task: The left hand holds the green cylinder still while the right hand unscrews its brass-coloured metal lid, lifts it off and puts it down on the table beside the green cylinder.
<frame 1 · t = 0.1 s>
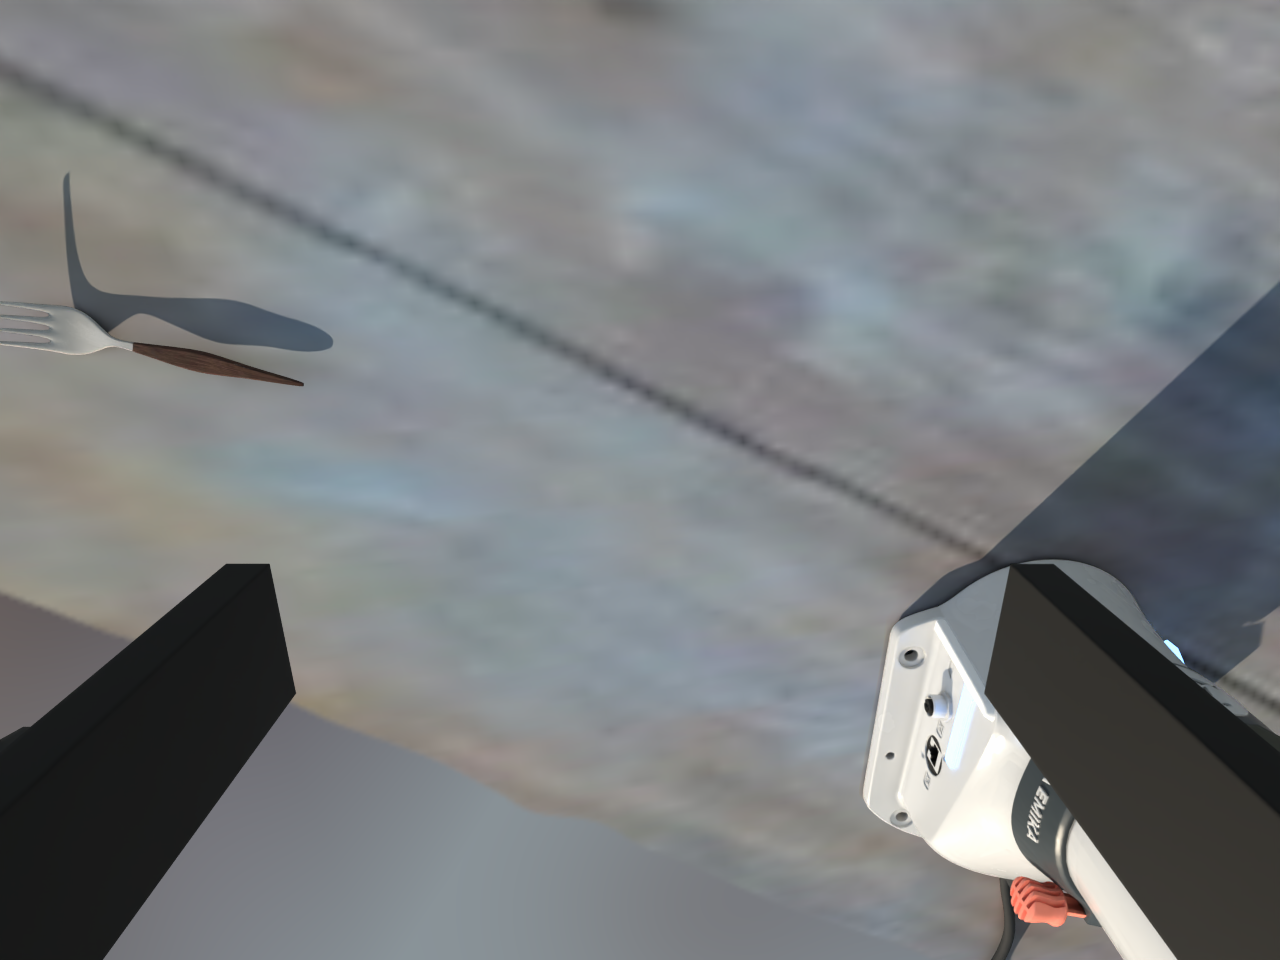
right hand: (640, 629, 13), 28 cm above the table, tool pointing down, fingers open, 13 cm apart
fork: (163, 349, 39), on the table
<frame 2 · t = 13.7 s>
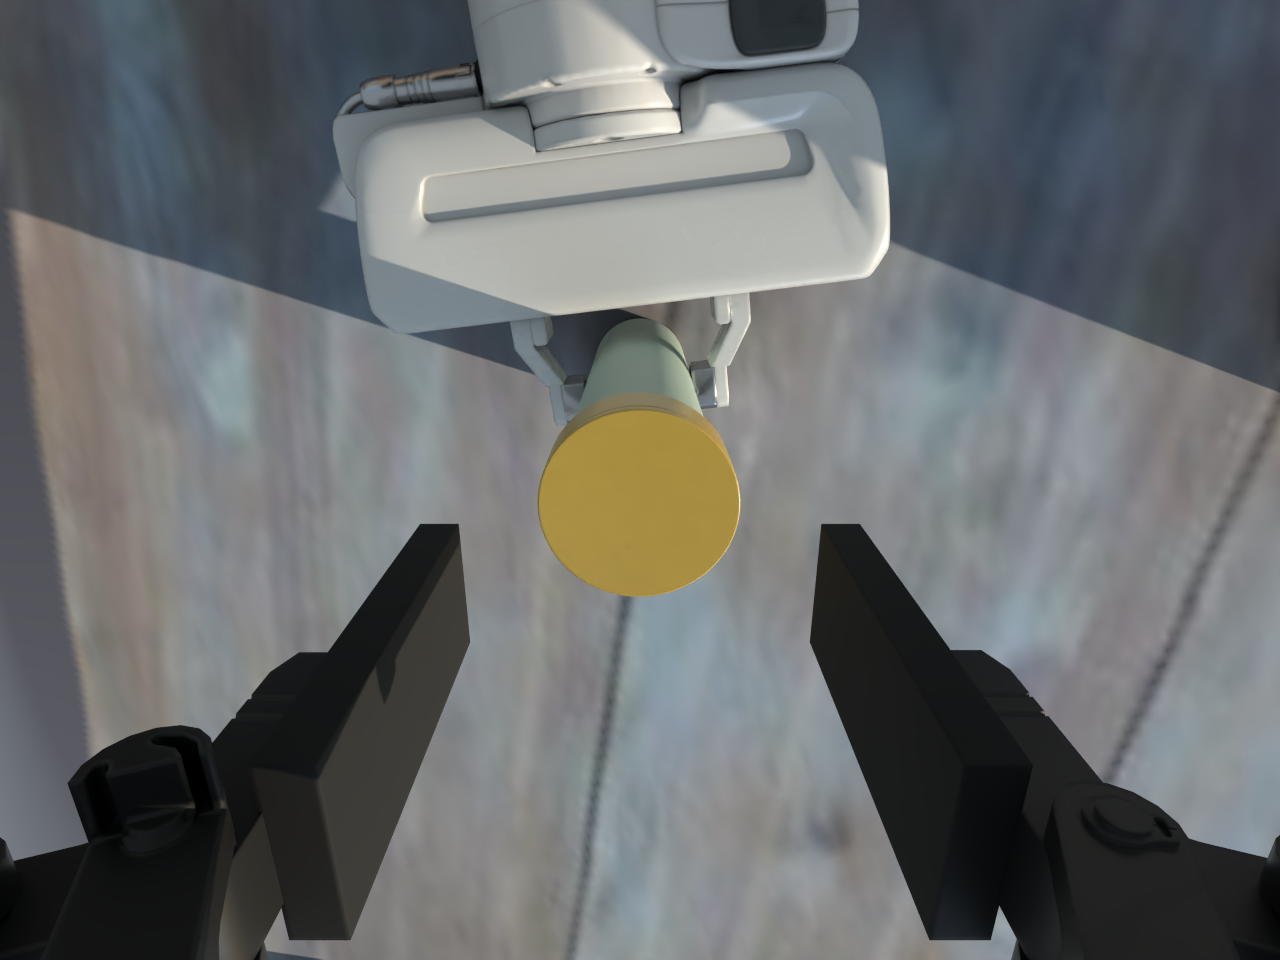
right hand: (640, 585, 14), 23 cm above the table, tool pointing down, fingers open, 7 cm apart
left hand: (643, 412, 30), fingers closed on green cylinder, 4 cm apart
green cylinder: (639, 363, 36), on the table, touching left hand
lid: (639, 502, 18), point 19 cm above the table, screwed on, not yet turned
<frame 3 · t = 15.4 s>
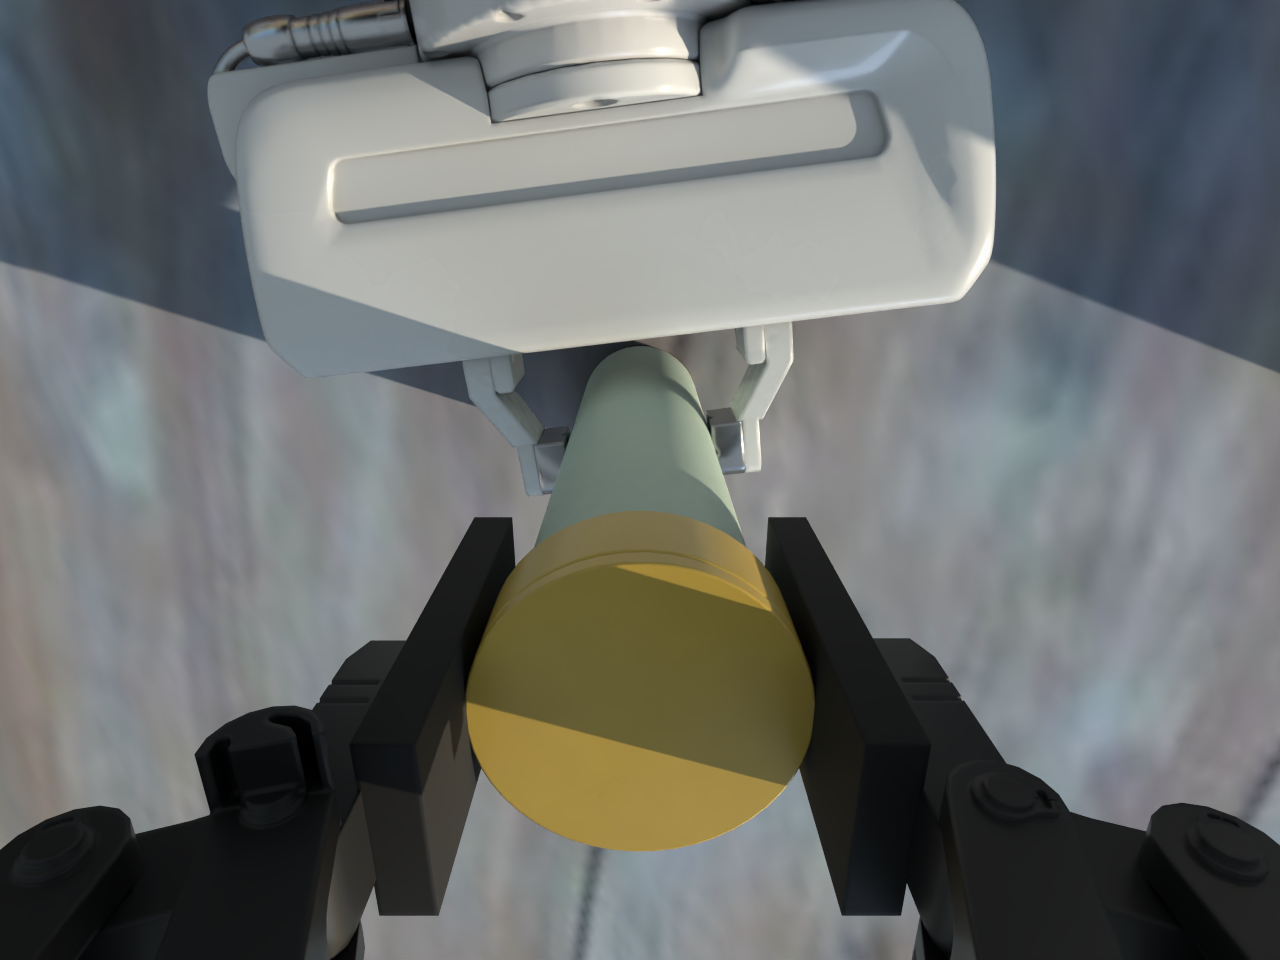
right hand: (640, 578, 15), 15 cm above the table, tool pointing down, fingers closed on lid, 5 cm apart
left hand: (644, 478, 23), fingers closed on green cylinder, 4 cm apart
green cylinder: (640, 401, 29), on the table, touching left hand
lid: (640, 704, 11), point 19 cm above the table, screwed on, not yet turned, touching right hand
when the right hand's fingers open (15 cm above the table, at t = 16.8 s): lid stays where it is, point 19 cm above the table.
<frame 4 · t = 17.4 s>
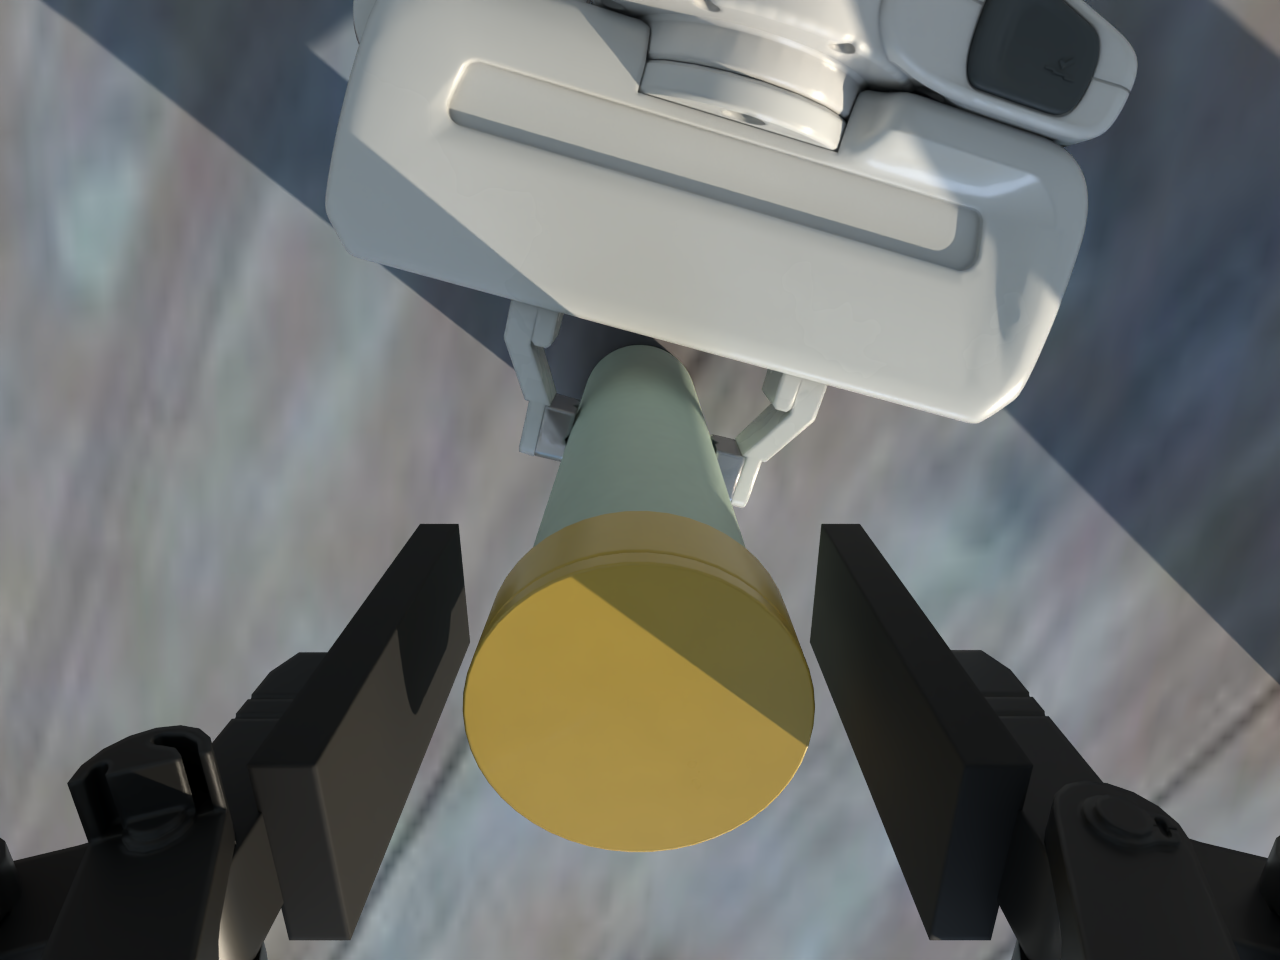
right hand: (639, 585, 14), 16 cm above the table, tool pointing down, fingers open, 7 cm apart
left hand: (633, 475, 23), fingers closed on green cylinder, 4 cm apart
green cylinder: (639, 400, 29), on the table, touching left hand
lid: (638, 705, 11), point 19 cm above the table, turned 81° so far, risen 0.2 cm, still on its thread
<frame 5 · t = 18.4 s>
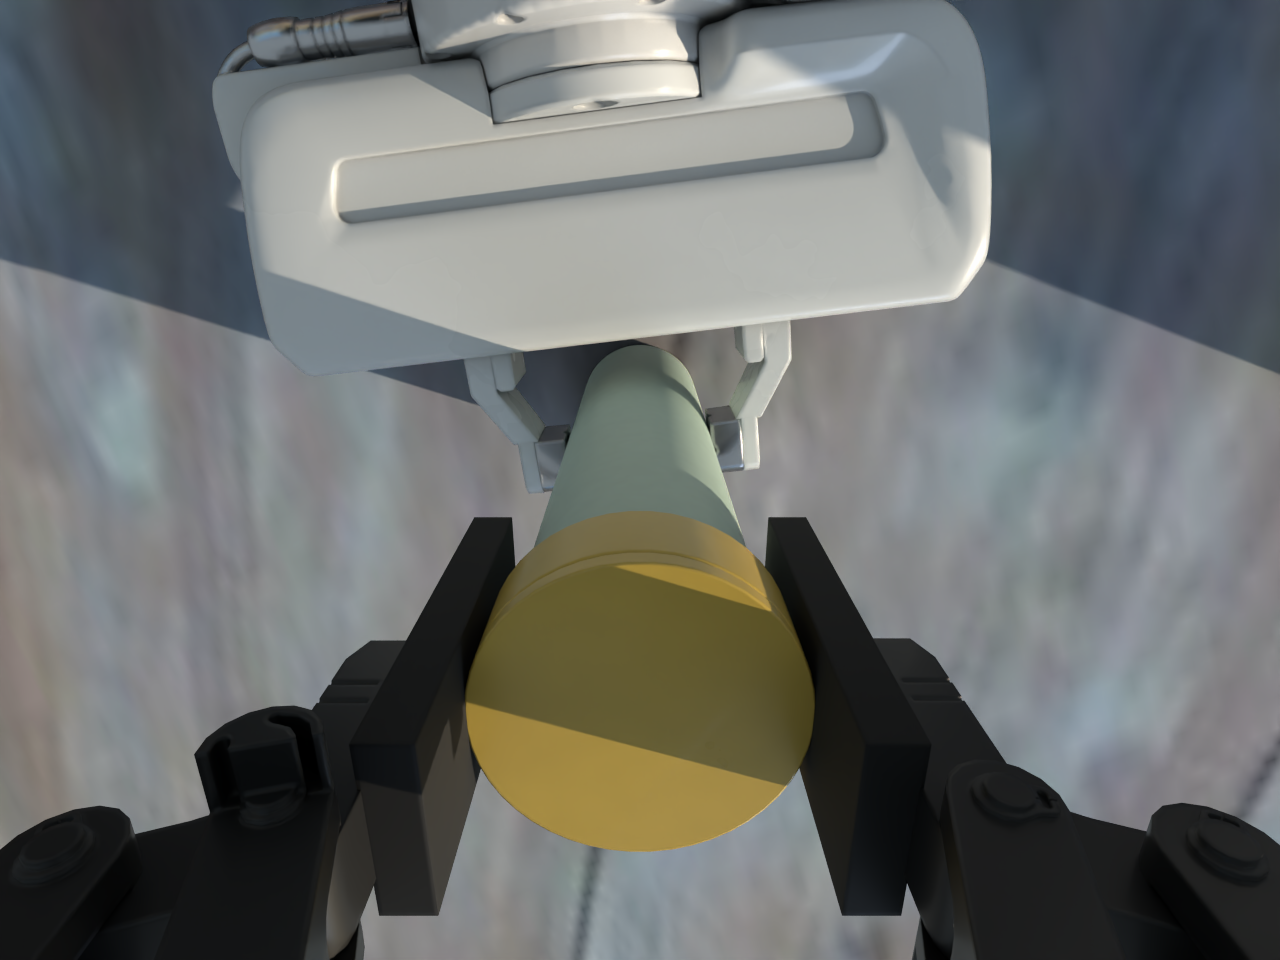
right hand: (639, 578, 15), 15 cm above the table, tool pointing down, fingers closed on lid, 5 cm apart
left hand: (644, 475, 23), fingers closed on green cylinder, 4 cm apart
green cylinder: (640, 400, 29), on the table, touching left hand
lid: (639, 705, 11), point 19 cm above the table, turned 81° so far, risen 0.2 cm, still on its thread, touching right hand
when the right hand's fingers open (0 cm above the table, at t = 25.0 s): lid drops 3 cm, point 2 cm above the table.
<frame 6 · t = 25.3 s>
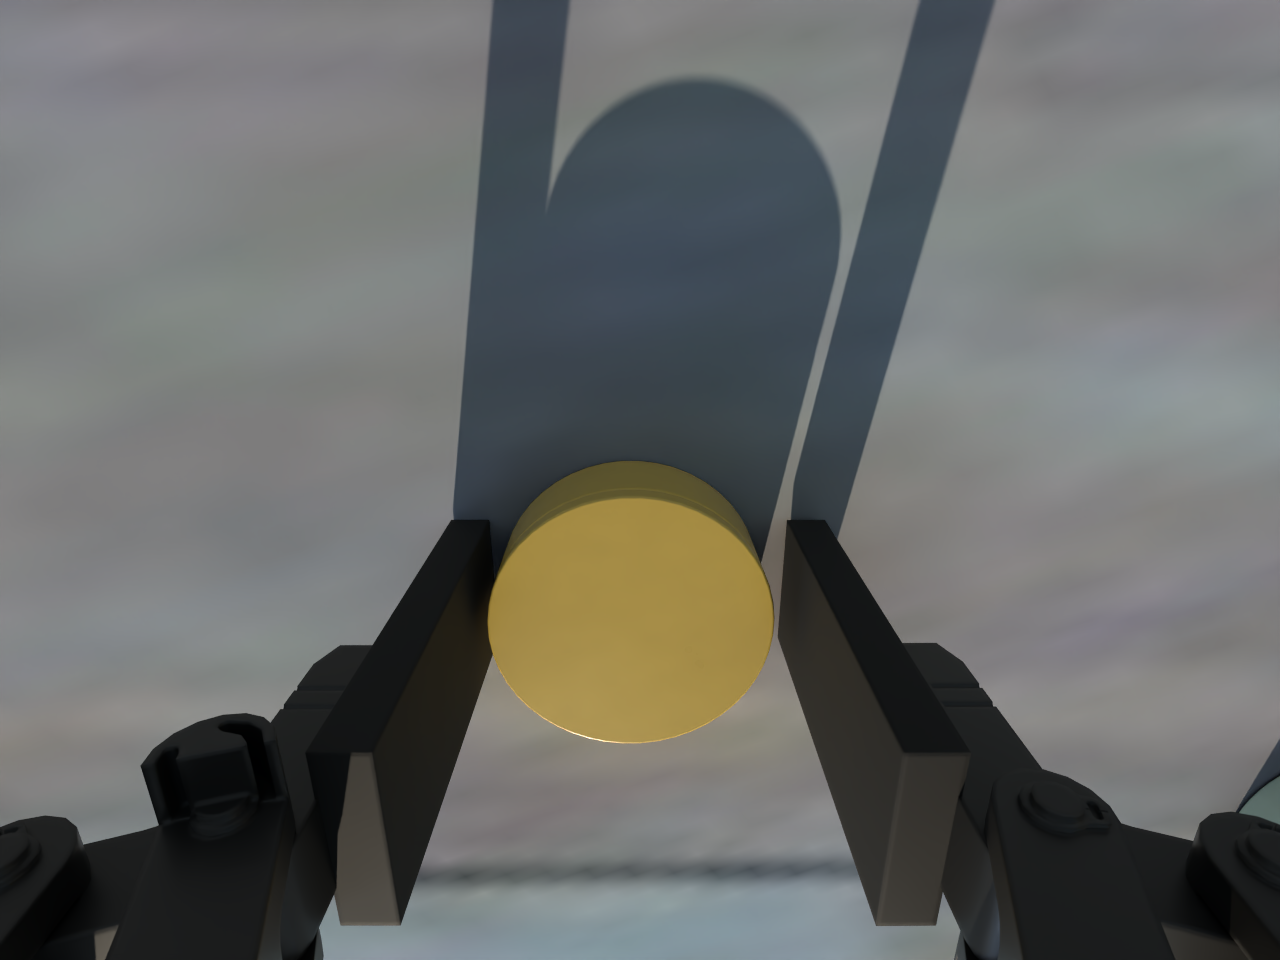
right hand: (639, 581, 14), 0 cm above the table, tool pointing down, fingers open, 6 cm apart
lid: (631, 618, 13), point 2 cm above the table, off its thread
when the left hand's fingers open (7 cm above the table, at t = 26.1 s): green cylinder stays where it is, on the table.
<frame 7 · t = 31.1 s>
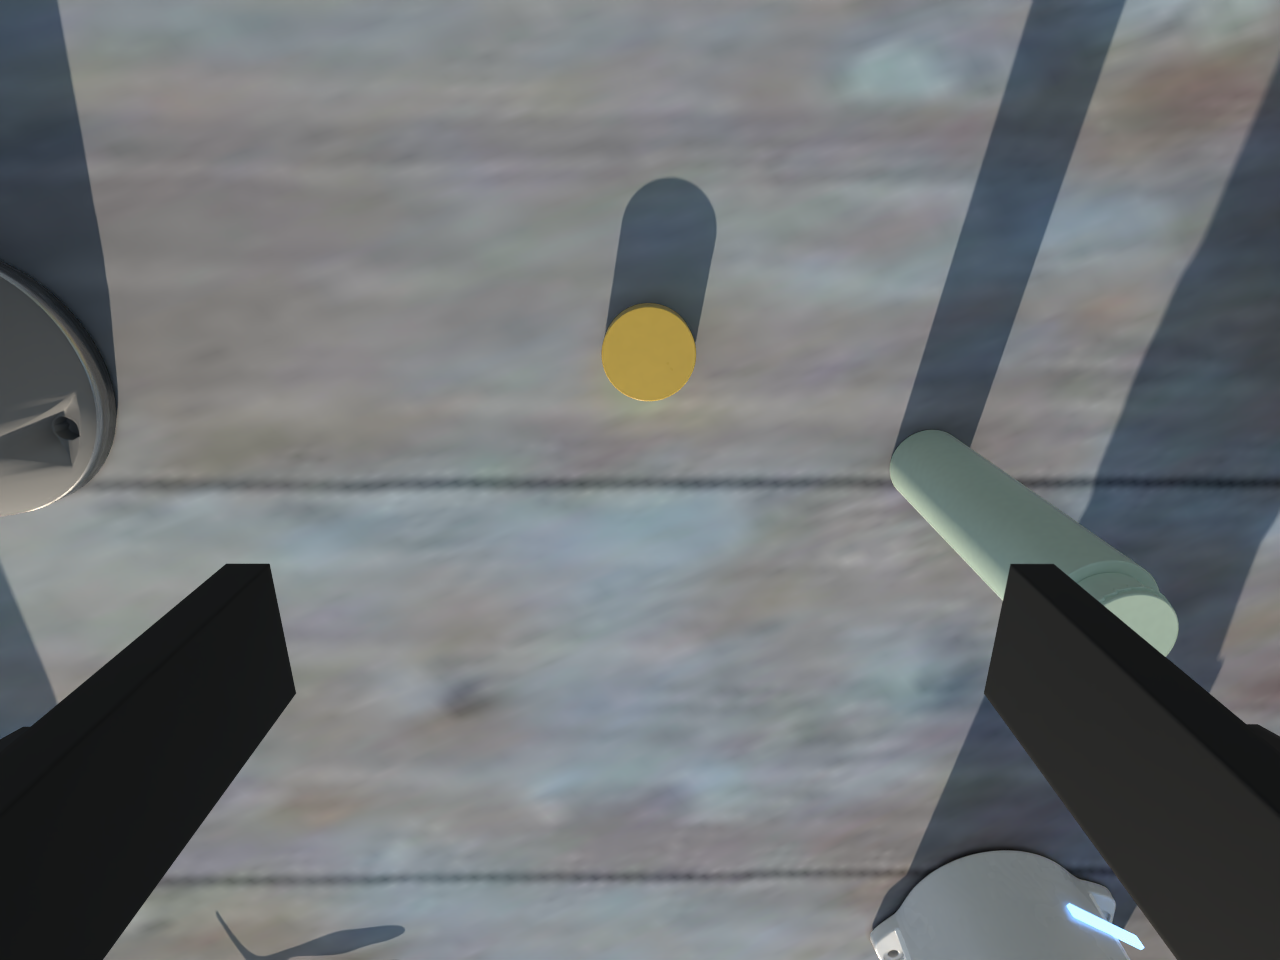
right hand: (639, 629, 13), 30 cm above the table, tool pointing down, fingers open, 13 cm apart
green cylinder: (926, 465, 43), on the table
lid: (648, 354, 39), point 2 cm above the table, off its thread
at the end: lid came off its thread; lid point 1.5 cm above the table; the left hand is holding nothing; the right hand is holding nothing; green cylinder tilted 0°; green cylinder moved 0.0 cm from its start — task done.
